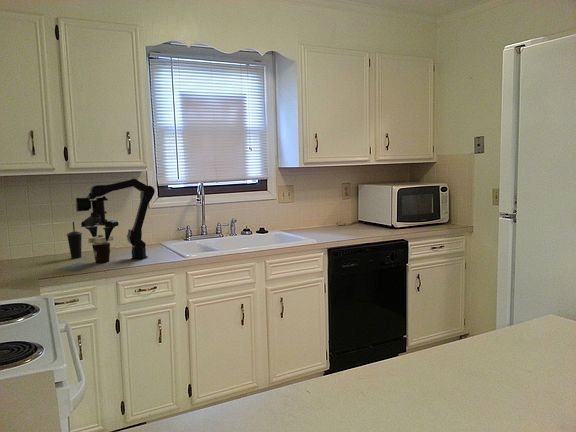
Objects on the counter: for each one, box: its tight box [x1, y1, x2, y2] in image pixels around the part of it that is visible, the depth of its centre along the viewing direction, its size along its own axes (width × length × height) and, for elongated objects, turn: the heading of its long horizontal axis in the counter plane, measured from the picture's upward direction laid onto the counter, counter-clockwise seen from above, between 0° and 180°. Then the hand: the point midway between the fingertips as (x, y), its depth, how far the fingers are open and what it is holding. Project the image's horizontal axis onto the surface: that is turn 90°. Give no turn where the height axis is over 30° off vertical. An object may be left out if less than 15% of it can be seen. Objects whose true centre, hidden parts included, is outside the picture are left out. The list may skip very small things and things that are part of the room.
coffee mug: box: [91, 241, 111, 264], centre depth 242 cm, size 12×9×10 cm
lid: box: [87, 234, 114, 244], centre depth 241 cm, size 7×10×4 cm
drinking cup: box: [66, 221, 83, 260], centre depth 256 cm, size 8×8×20 cm
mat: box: [54, 262, 100, 272], centre depth 234 cm, size 14×16×1 cm
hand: (101, 240), depth 241 cm, fingers closed on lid, 7 cm apart
